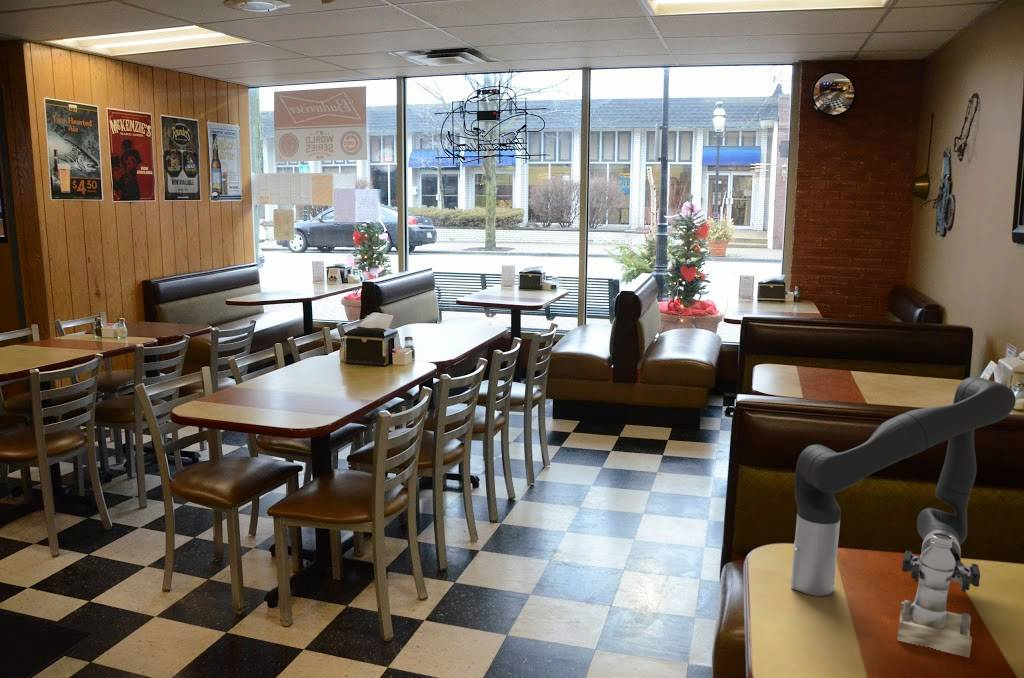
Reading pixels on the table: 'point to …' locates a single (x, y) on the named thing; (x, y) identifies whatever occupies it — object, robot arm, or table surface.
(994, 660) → the table surface
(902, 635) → the caddy
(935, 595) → the plastic bottle
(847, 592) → the table surface
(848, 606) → the table surface
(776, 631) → the table surface
